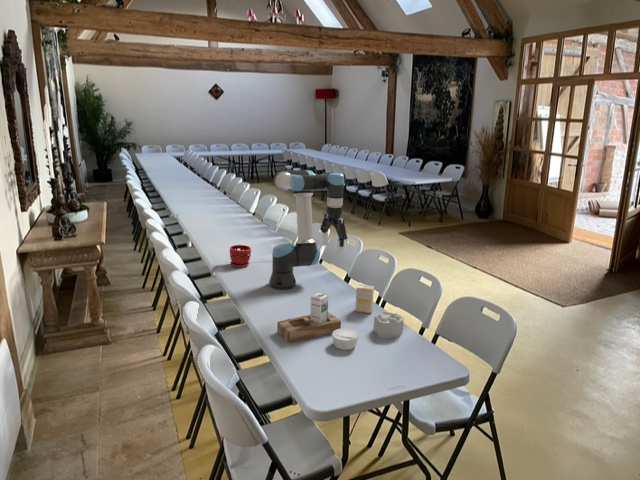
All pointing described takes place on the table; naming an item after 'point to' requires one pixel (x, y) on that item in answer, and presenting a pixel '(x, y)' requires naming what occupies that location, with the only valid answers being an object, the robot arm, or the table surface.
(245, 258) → the plant pot
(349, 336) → the ramekin
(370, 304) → the supplement box
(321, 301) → the syrup box
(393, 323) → the lumpy-topped squat cylinder
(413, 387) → the table surface
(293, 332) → the wooden divided tray
